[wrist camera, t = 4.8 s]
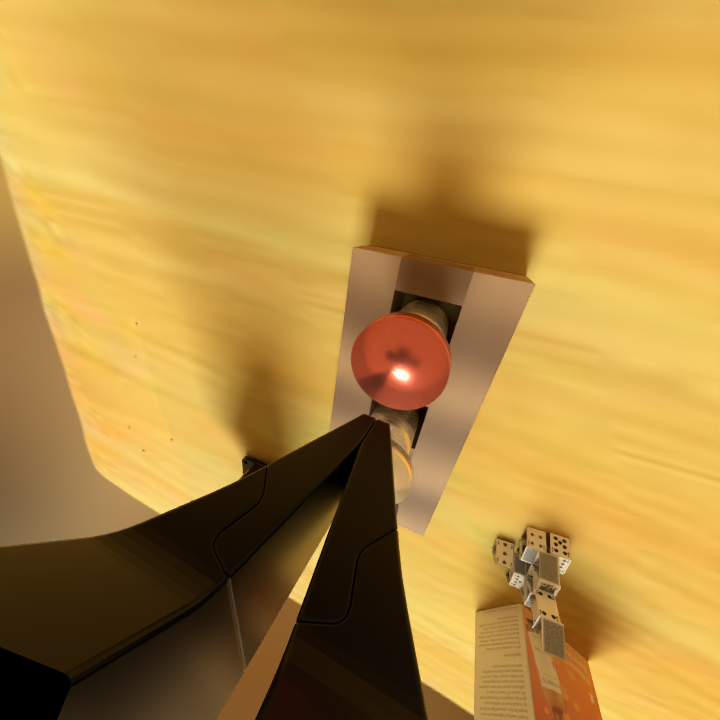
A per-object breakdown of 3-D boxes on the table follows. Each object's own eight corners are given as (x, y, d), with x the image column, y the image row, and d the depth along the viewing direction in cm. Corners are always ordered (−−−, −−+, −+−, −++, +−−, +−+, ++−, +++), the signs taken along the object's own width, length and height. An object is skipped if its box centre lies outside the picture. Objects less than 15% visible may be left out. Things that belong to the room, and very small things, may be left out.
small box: (584, 643, 26) (642, 861, 17) (531, 647, 29) (555, 835, 20) (519, 585, 26) (543, 773, 17) (473, 596, 29) (472, 760, 20)
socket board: (430, 495, 25) (423, 536, 22) (341, 457, 27) (322, 489, 24) (522, 273, 16) (535, 284, 12) (376, 244, 18) (353, 247, 15)
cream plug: (418, 445, 19) (399, 517, 14) (365, 425, 20) (331, 486, 15) (434, 400, 17) (418, 464, 13) (375, 380, 18) (339, 433, 14)
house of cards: (462, 470, 23) (457, 563, 17) (584, 505, 20) (635, 632, 14) (445, 536, 27) (436, 632, 21) (547, 573, 24) (572, 697, 18)
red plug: (445, 366, 16) (432, 422, 11) (382, 347, 17) (345, 392, 12) (468, 300, 14) (464, 335, 10) (395, 283, 15) (357, 306, 11)
